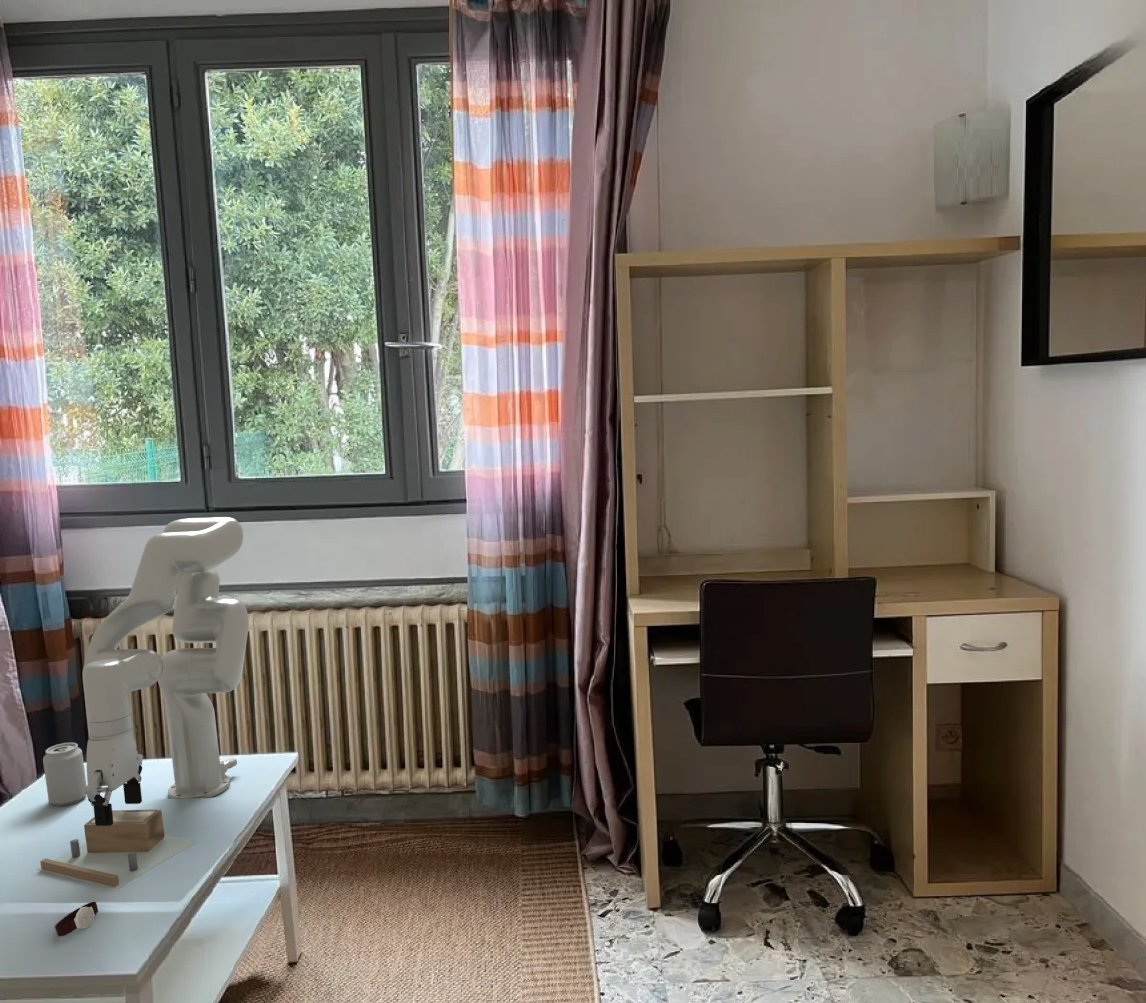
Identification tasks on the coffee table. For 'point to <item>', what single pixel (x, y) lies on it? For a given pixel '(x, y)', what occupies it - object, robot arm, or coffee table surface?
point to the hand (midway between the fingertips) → (119, 814)
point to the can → (64, 774)
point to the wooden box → (126, 832)
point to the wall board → (112, 862)
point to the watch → (77, 919)
